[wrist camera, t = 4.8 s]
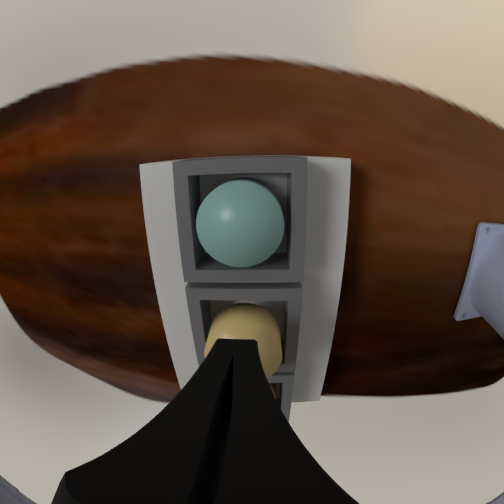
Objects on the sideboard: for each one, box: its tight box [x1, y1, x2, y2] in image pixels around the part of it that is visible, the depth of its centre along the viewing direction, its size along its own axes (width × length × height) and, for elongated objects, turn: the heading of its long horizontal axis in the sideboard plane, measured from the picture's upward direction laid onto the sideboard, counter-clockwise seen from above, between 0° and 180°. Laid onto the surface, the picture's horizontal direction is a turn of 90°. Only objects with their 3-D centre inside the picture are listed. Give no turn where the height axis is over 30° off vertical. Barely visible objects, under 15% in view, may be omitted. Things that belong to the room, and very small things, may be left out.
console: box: [140, 155, 351, 422], centre depth 15 cm, size 10×16×4 cm, turn 1°
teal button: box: [196, 177, 284, 267], centre depth 11 cm, size 3×3×2 cm
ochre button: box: [204, 303, 282, 378], centre depth 12 cm, size 3×3×2 cm
